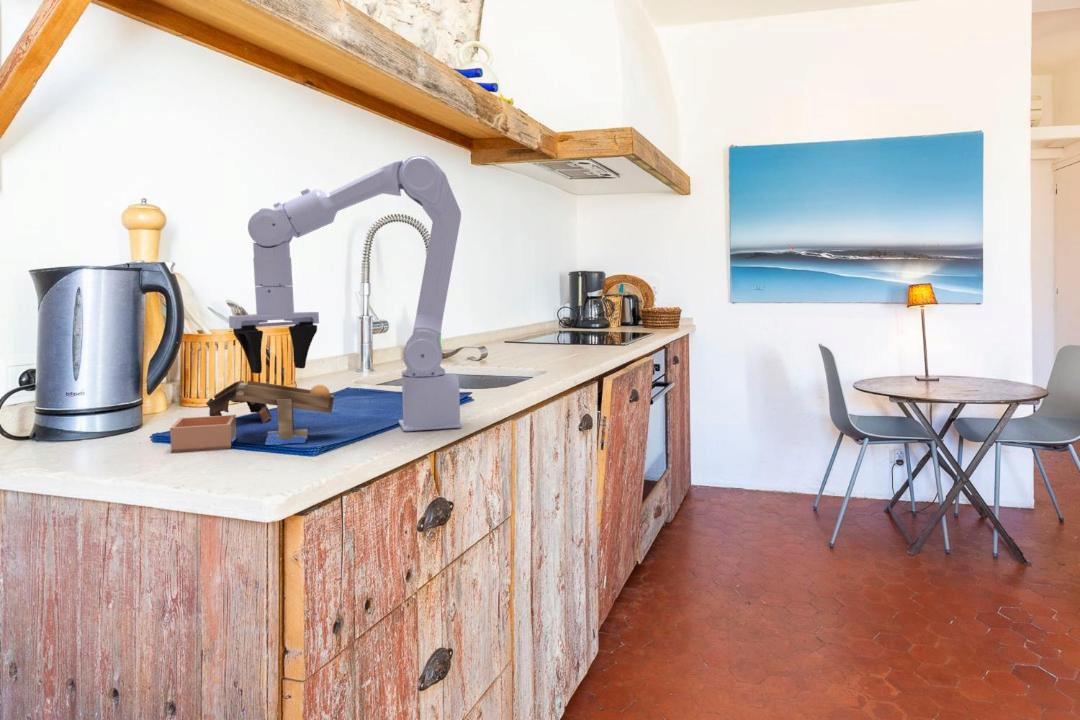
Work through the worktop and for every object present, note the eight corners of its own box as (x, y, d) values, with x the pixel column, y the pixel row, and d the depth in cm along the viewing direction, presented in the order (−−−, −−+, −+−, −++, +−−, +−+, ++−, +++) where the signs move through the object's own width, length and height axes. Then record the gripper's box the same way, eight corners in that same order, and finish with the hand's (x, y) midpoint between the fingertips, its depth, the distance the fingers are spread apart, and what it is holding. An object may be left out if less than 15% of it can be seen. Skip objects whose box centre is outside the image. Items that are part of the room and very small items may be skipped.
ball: (328, 402, 116) (330, 384, 116) (328, 405, 113) (330, 387, 113) (309, 401, 115) (310, 382, 115) (308, 404, 112) (310, 385, 112)
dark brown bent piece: (262, 429, 124) (233, 389, 121) (219, 451, 126) (190, 412, 123) (289, 400, 135) (263, 363, 132) (249, 420, 137) (223, 385, 134)
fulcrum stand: (307, 432, 118) (305, 391, 117) (306, 443, 110) (304, 399, 110) (268, 435, 116) (266, 393, 115) (264, 446, 109) (262, 401, 108)
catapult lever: (329, 401, 123) (332, 387, 123) (331, 413, 112) (333, 398, 112) (239, 388, 118) (241, 374, 118) (231, 399, 108) (234, 383, 108)
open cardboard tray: (236, 437, 115) (235, 414, 114) (231, 448, 107) (229, 424, 107) (181, 440, 113) (179, 418, 112) (171, 452, 105) (169, 428, 105)
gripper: (301, 285, 125) (305, 364, 126) (217, 287, 114) (223, 373, 115) (324, 285, 120) (328, 367, 121) (239, 287, 109) (244, 376, 111)
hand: (278, 370), depth 118 cm, fingers open, 7 cm apart
